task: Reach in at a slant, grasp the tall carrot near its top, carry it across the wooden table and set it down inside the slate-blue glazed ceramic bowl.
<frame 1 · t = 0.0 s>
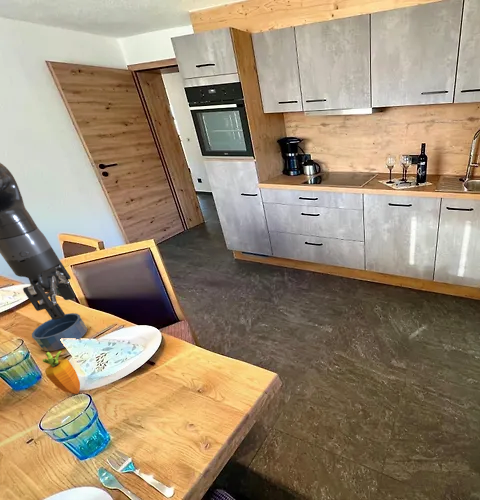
hand: (65, 307, 72), 25 cm above the table, tool pointing down, fingers open, 8 cm apart
carrot: (77, 393, 79), on the table
bowl: (66, 338, 98), on the table
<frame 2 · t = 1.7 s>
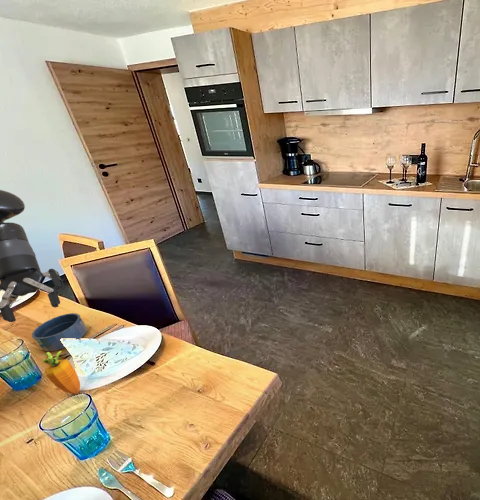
hand: (34, 313, 76), 22 cm above the table, tool tilted 45°, fingers open, 8 cm apart
nothing on the table moved.
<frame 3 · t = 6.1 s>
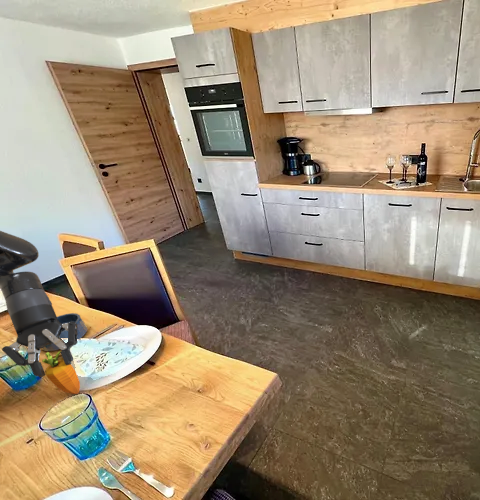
hand: (55, 369, 73), 11 cm above the table, tool tilted 45°, fingers closed on carrot, 4 cm apart
carrot: (77, 393, 79), on the table, touching gripper
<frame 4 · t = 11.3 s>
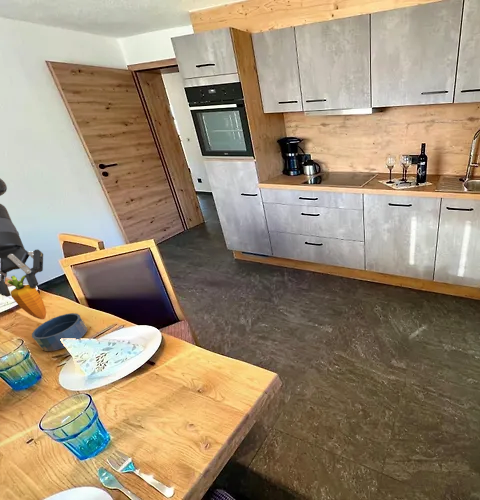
hand: (20, 291, 78), 26 cm above the table, tool tilted 45°, fingers closed on carrot, 4 cm apart
carrot: (44, 319, 84), point 15 cm above the table, touching gripper
when the fingers open (12 cm above the table, at t = 17.0 s): carrot stays where it is, resting on bowl.
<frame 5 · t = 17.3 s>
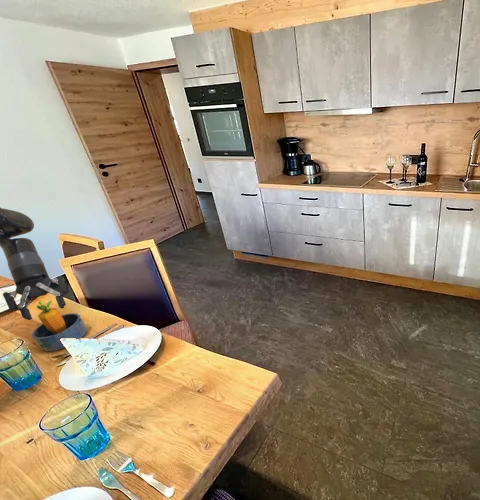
hand: (46, 313, 91), 12 cm above the table, tool tilted 45°, fingers open, 7 cm apart
carrot: (65, 337, 98), resting on bowl
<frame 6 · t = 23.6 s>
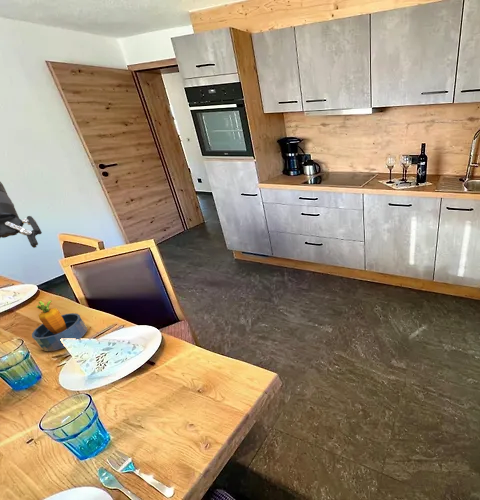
hand: (15, 251, 90), 30 cm above the table, tool tilted 45°, fingers open, 8 cm apart
nothing on the table moved.
at the end: carrot inside the target area in the bowl (0.2 cm from its centre), point 0.4 cm above the bowl's base; the gripper is holding nothing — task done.
